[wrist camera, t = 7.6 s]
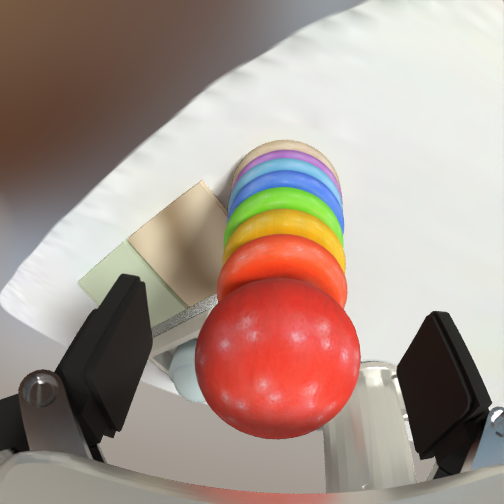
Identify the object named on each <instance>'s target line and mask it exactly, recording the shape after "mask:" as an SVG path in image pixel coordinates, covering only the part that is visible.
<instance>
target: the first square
mask: <svg viewBox="0 0 504 504" xmlns="http://www.w3.org/2000/svg"><path fill="white" fill-rule="evenodd" d="M227 219H228V212H227V210H226V209H225V208H224V206H223V205H222V204H221V203H220V201H219V200H218V199H217V198H216V196H215V195H214V194H213V193H212V191H211V190H210V189H209V187H208V186H207V185H206V184H205V182H204V181H203V180H201V181H200V182H199V183H197V184H196V185H194V186H193V187H192V188H190V189H189V190H188V191H186V192H185V193H184V194H182V195H181V196H180V197H179V198H177V199H176V200H175V201H173V202H172V203H171V204H169V205H168V206H167V207H166V208H164V209H163V210H162V211H161V212H159V213H158V214H157V215H155V216H154V217H153V218H152V219H150V220H149V221H148V222H147V223H146V224H144V225H143V226H142V227H141V228H139V229H138V230H137V231H136V232H135V233H133V234H132V235H131V236H130V237H129V238H128V239H127V240H128V241H129V242H130V243H131V245H132V246H133V247H134V248H135V249H136V250H137V251H138V252H139V254H140V255H141V256H142V257H143V258H144V259H145V260H146V261H147V262H148V264H149V265H150V266H151V267H152V268H153V269H154V270H155V271H156V272H157V273H158V275H159V276H160V277H161V278H162V279H163V280H164V281H165V282H166V283H167V284H168V285H169V286H170V287H171V288H172V289H173V291H174V292H175V293H176V294H177V295H178V296H179V297H180V298H181V299H182V300H183V301H184V302H185V303H186V304H187V305H188V306H189V307H191V306H193V305H195V304H197V303H199V302H201V301H202V300H204V299H206V298H208V297H210V296H212V295H213V294H215V293H217V283H218V278H219V275H220V272H221V269H222V260H223V253H224V233H225V229H226V226H227Z"/></svg>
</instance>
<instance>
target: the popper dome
mask: <svg viewBox="0 0 504 504" xmlns="http://www.w3.org/2000/svg"><path fill="white" fill-rule="evenodd" d="M196 343H197V339H193V340H189V341H187V342H185V343H183V344H180V345H178V347H177V348H176V351H175V354H174V357H173V360H172V362H171V365H170V368H169V377H170V379H171V381H172V382H173V383H174V385H175V388H176V390H177V391H178V393H179V394H180V395H181V396H182V397H183V398H185V399H186V400H188V401H191V402H195V403H202V402H206V400H205V398H204V397H203V394H202V392H201V390H200V388H199V385H198V381H197V377H196V372H195V348H196Z"/></svg>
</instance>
